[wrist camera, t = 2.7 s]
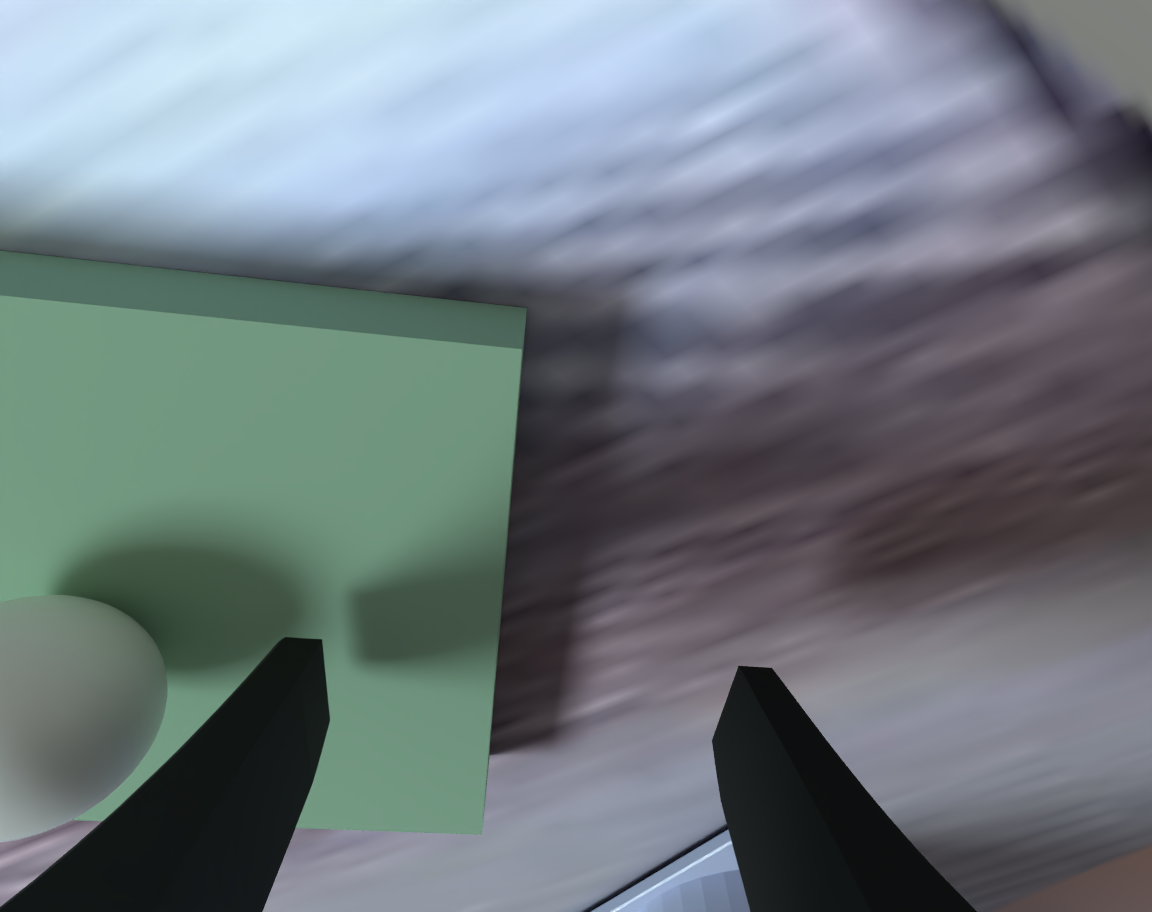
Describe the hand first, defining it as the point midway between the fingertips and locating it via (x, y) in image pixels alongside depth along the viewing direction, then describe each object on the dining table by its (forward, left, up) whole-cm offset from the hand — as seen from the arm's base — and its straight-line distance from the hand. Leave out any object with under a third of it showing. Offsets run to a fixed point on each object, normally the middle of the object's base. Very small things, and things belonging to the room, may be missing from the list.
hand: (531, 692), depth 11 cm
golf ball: (+6, +4, +1) cm, 8 cm away
